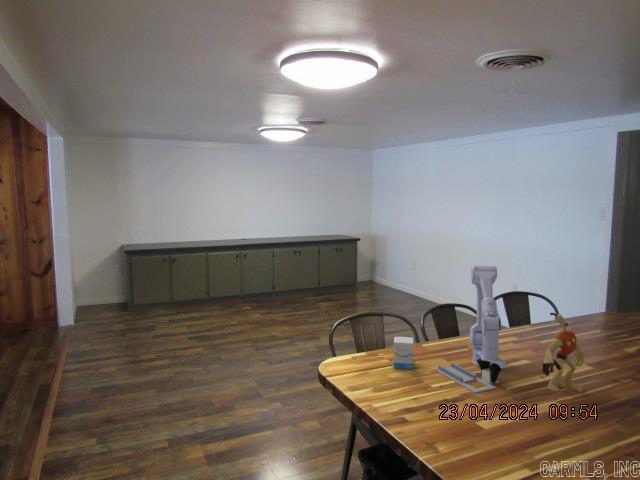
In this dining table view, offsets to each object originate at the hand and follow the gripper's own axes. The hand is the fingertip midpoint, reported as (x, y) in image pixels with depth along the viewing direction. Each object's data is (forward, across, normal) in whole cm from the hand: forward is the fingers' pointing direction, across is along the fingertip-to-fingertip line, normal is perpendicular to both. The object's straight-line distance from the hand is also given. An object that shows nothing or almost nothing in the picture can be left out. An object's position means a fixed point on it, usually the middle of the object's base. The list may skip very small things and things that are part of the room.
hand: (489, 379), depth 173 cm
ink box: (+2, -30, -20) cm, 36 cm away
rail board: (+2, -5, -8) cm, 10 cm away
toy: (+2, +16, +19) cm, 25 cm away
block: (0, 0, 0) cm, 0 cm away
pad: (+2, 0, 0) cm, 2 cm away
